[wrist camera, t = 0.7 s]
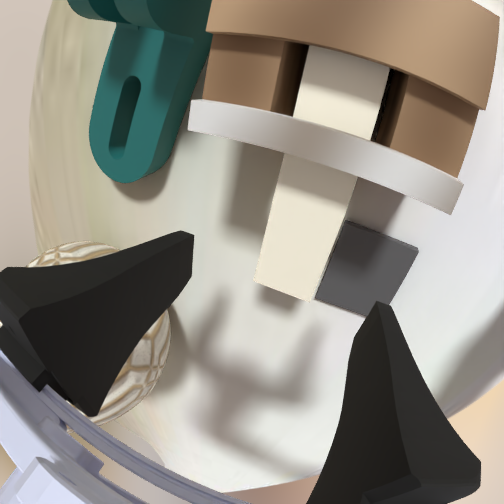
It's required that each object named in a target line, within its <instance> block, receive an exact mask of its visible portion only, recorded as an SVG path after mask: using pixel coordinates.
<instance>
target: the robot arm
mask: <svg viewBox="0 0 504 504" xmlns="http://www.w3.org/2000/svg"><path fill="white" fill-rule="evenodd" d="M193 246H194V235H192V234H190V233H187V232H184V231H177V232H173V233H170V234H167V235H165V236H162V237H159V238H156V239H153V240H151V241H148V242H145V243H142V244H139V245H137V246H134V247H131V248H128V249H124V250H121V251H118V252H115V253H112V254H109V255H105V256H102V257H98V258H93V259H89V260H85V261H80V262H74V263H68V264H62V265H53V266H42V267H7V268H5V269H4V270H2V272H0V321H1V323H2V324H3V325H2V326H1V327H0V443H1V445H2V446H3V448H4V449H5V450H6V452H7V453H8V455H9V456H10V457H11V459H12V460H13V462H14V463H15V464H16V466H17V467H16V468H15V470H14V471H13V472H12V474H11V475H10V477H9V478H8V479H7V481H6V482H5V483H4V485H3V486H2V488H1V489H0V504H149V503H147V502H145V501H143V500H141V499H140V498H138V497H136V496H134V495H132V494H131V493H129V492H127V491H126V490H124V489H122V488H121V487H119V486H118V485H116V484H114V483H113V482H111V481H110V480H108V479H107V478H105V477H104V476H102V475H101V474H99V471H100V469H101V468H102V467H103V465H104V463H103V462H102V461H101V460H100V459H98V458H97V457H96V456H94V455H93V454H92V453H91V452H90V451H88V450H87V449H86V448H85V447H84V446H83V445H81V444H80V443H79V442H78V441H76V440H75V439H74V438H72V436H70V435H69V434H68V433H67V426H68V427H70V428H71V429H72V430H73V431H74V432H76V433H77V434H78V435H79V436H81V437H82V438H83V439H84V440H86V441H87V442H88V443H90V444H91V445H92V446H94V447H95V448H96V449H98V450H99V451H101V452H102V453H103V454H105V455H106V456H108V457H109V458H111V459H112V460H114V461H115V462H117V463H118V464H120V465H122V466H123V467H125V468H126V469H128V470H130V471H131V472H133V473H134V474H136V475H138V476H139V477H141V478H143V479H145V480H146V481H148V482H150V483H152V484H154V485H155V486H157V487H159V488H161V489H163V490H165V491H167V492H169V493H171V494H173V495H175V496H177V497H179V498H181V499H184V500H186V501H188V502H190V503H192V504H251V503H248V502H245V501H242V500H239V499H236V498H233V497H231V496H228V495H225V494H223V493H220V492H217V491H215V490H212V489H210V488H208V487H205V486H203V485H201V484H198V483H196V482H194V481H191V480H189V479H187V478H185V477H183V476H181V475H179V474H177V473H175V472H173V471H171V470H169V469H167V468H165V467H163V466H161V465H159V464H157V463H155V462H154V461H152V460H150V459H148V458H147V457H145V456H143V455H141V454H140V453H138V452H136V451H134V450H133V449H131V448H130V447H128V446H127V445H125V444H124V443H122V442H120V441H119V440H117V439H116V438H114V437H113V436H111V435H110V434H109V433H107V432H106V431H104V430H103V429H101V428H100V427H99V426H97V425H96V424H94V423H93V422H92V421H90V420H89V419H88V418H87V417H85V416H84V415H83V414H81V413H80V412H79V411H78V410H76V409H75V408H74V407H73V406H75V407H76V408H78V409H79V410H80V411H81V412H83V413H84V414H85V415H87V416H88V417H95V416H97V415H98V413H99V411H100V409H101V407H102V405H103V402H104V400H105V398H106V396H107V394H108V392H109V390H110V389H111V387H112V385H113V383H114V381H115V379H116V378H117V376H118V374H119V372H120V371H121V369H122V368H123V366H124V364H125V363H126V361H127V359H128V358H129V356H130V355H131V353H132V352H133V350H134V349H135V347H136V346H137V344H138V343H139V341H140V340H141V339H142V337H143V336H144V335H145V334H146V332H147V331H148V330H149V329H150V328H151V326H152V325H153V324H154V323H155V322H156V321H157V320H158V319H159V317H160V316H161V315H162V314H163V313H164V312H165V311H166V310H167V308H168V307H169V306H170V305H171V304H172V303H173V302H174V300H175V299H176V298H177V297H178V296H179V294H180V293H181V291H182V290H183V289H184V287H185V286H186V284H187V282H188V281H189V279H190V278H191V276H192V261H193ZM66 400H67V401H68V402H69V403H70V404H72V405H73V406H71V405H70V404H69V403H68V402H67V401H66ZM66 425H67V426H66ZM480 481H481V461H480V460H479V459H478V458H477V457H476V456H475V455H474V453H472V451H471V450H470V449H469V448H468V447H467V445H466V444H465V443H464V442H463V440H462V439H461V438H460V437H459V435H458V434H457V433H456V431H455V430H454V429H453V427H452V426H451V424H450V423H449V421H448V420H447V418H446V417H445V415H444V414H443V412H442V411H441V409H440V407H439V406H438V404H437V403H436V401H435V399H434V397H433V396H432V394H431V392H430V390H429V388H428V387H427V385H426V383H425V381H424V379H423V377H422V375H421V373H420V371H419V369H418V367H417V364H416V362H415V360H414V358H413V356H412V354H411V351H410V349H409V347H408V344H407V342H406V340H405V337H404V335H403V333H402V330H401V328H400V325H399V323H398V321H397V318H396V316H395V314H394V311H393V309H392V307H391V306H390V305H387V304H384V303H381V302H379V301H376V302H375V304H374V306H373V307H372V309H371V311H370V312H369V314H368V316H367V317H366V319H365V321H364V322H363V324H362V325H361V327H360V329H359V330H358V332H357V333H356V335H355V337H354V340H353V344H352V348H351V352H350V357H349V361H348V369H347V377H346V384H345V391H344V398H343V405H342V411H341V415H340V420H339V424H338V427H337V430H336V433H335V437H334V440H333V443H332V446H331V448H330V451H329V454H328V457H327V459H326V462H325V464H324V467H323V469H322V472H321V474H320V476H319V479H318V481H317V483H316V485H315V487H314V490H313V491H312V493H311V495H310V497H309V499H308V501H307V503H306V504H447V503H450V502H453V501H455V500H458V499H461V498H464V497H466V496H468V495H470V494H472V493H474V492H475V491H476V490H477V489H478V488H479V487H480Z"/></svg>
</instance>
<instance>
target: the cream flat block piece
mask: <svg viewBox="0 0 504 504" xmlns="http://www.w3.org/2000/svg"><path fill="white" fill-rule="evenodd" d="M389 70H390V67H387V66H384V65H381V64H378V63H375V62H372V61H369V60H366V59H363V58H359V57H356V56H353V55H349V54H345V53H342V52H338V51H334V50H330V49H325V48H321V47H316V46H312V45H309V50H308V54H307V58H306V63H305V67H304V71H303V76H302V80H301V84H300V89H299V93H298V97H297V101H296V106H295V110H294V114H293V117H295V118H299V119H303V120H307V121H310V122H314V123H317V124H321V125H324V126H327V127H331V128H334V129H337V130H340V131H343V132H347V133H350V134H353V135H356V136H358V137H361V138H364V139H367V140H370V139H371V136H372V132H373V129H374V126H375V122H376V119H377V115H378V112H379V108H380V105H381V101H382V97H383V94H384V90H385V86H386V82H387V78H388V74H389ZM357 179H358V176H355V175H353V174H350V173H347V172H344V171H341V170H338V169H335V168H332V167H329V166H326V165H323V164H320V163H317V162H314V161H310V160H307V159H304V158H301V157H297V156H294V155H290V154H287V153H284V156H283V161H282V165H281V169H280V173H279V177H278V181H277V186H276V190H275V194H274V198H273V202H272V206H271V210H270V214H269V218H268V223H267V227H266V231H265V235H264V239H263V243H262V247H261V251H260V255H259V259H258V263H257V267H256V271H255V275H254V279H253V281H254V282H257V283H259V284H262V285H265V286H267V287H270V288H272V289H275V290H278V291H280V292H283V293H286V294H288V295H291V296H294V297H296V298H299V299H302V300H304V301H307V302H310V300H311V297H312V295H313V293H314V291H315V288H316V286H317V284H318V281H319V279H320V276H321V274H322V272H323V269H324V267H325V264H326V262H327V259H328V257H329V255H330V252H331V249H332V247H333V244H334V242H335V239H336V237H337V234H338V232H339V229H340V226H341V224H342V221H343V218H344V216H345V213H346V210H347V207H348V205H349V202H350V199H351V196H352V193H353V191H354V188H355V185H356V182H357Z"/></svg>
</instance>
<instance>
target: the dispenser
mask: <svg viewBox="0 0 504 504" xmlns="http://www.w3.org/2000/svg"><path fill="white" fill-rule="evenodd" d="M499 19H500V17H499V16H497V15H495V14H494V13H492V12H491V11H489V10H487V9H486V8H484V7H482V6H480V5H479V4H477V3H475V2H473V1H472V0H212V3H211V8H210V12H209V17H208V22H207V27H206V32H209V33H212V34H213V38H212V43H211V48H210V54H209V59H208V65H207V71H206V77H205V83H204V90H203V96H202V99H198V100H191V106H190V114H189V122H188V130H189V131H195V132H200V133H205V134H210V135H214V136H219V137H224V138H228V139H232V140H237V141H241V142H245V143H249V144H253V145H257V146H261V147H265V148H269V149H272V150H276V151H280V152H283V153H287V154H290V155H294V156H297V157H301V158H304V159H307V160H310V161H314V162H317V163H320V164H323V165H326V166H329V167H332V168H335V169H338V170H341V171H344V172H347V173H350V174H353V175H355V176H358V177H361V178H364V179H366V180H369V181H372V182H374V183H377V184H380V185H382V186H385V187H387V188H390V189H392V190H395V191H397V192H400V193H402V194H405V195H407V196H409V197H412V198H414V199H416V200H419V201H421V202H423V203H425V204H428V205H430V206H432V207H434V208H436V209H439V210H441V211H443V212H445V213H447V214H449V215H451V214H452V211H453V209H454V207H455V205H456V202H457V200H458V197H459V195H460V193H461V190H462V188H463V185H464V184H462V183H461V182H460V181H459V180H458V179H457V177H458V174H459V172H460V169H461V166H462V163H463V161H464V158H465V155H466V152H467V149H468V146H469V143H470V139H471V136H472V133H473V129H474V126H475V122H476V119H477V115H478V111H479V109H480V110H486V106H487V102H488V97H489V93H490V88H491V83H492V78H493V72H494V66H495V59H496V52H497V44H498V33H499ZM309 45H312V46H316V47H321V48H325V49H330V50H334V51H338V52H342V53H345V54H349V55H353V56H356V57H359V58H363V59H366V60H369V61H372V62H375V63H378V64H381V65H384V66H387V67H390V68H393V69H394V73H393V78H392V82H391V86H390V90H389V94H388V98H387V102H386V106H385V109H384V113H383V117H382V120H381V124H380V127H379V131H378V134H377V138H376V141H375V142H373V141H370V140H367V139H364V138H361V137H358V136H356V135H353V134H350V133H347V132H343V131H340V130H337V129H334V128H331V127H327V126H324V125H321V124H317V123H314V122H310V121H307V120H303V119H299V118H295V117H293V114H294V110H295V106H296V101H297V97H298V93H299V89H300V84H301V80H302V76H303V71H304V67H305V63H306V58H307V54H308V50H309Z"/></svg>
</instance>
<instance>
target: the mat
mask: <svg viewBox="0 0 504 504" xmlns="http://www.w3.org/2000/svg"><path fill="white" fill-rule="evenodd" d="M418 252H419V251H418V248H417V247H414V246H412V245H409V244H407V243H404V242H402V241H399V240H397V239H394V238H392V237H389V236H387V235H384V234H382V233H379V232H376V231H374V230H371V229H368V228H366V227H363V226H360V225H358V224H355V223H352V222H350V221H347V220H345V223H344V226H343V228H342V231H341V234H340V236H339V239H338V242H337V244H336V247H335V249H334V252H333V255H332V257H331V260H330V262H329V265H328V267H327V270H326V272H325V274H324V277H323V279H322V282H321V284H320V287H319V289H318V291H317V294H316V297H315V298H317V299H320V300H323V301H325V302H328V303H331V304H334V305H337V306H339V307H342V308H345V309H348V310H351V311H354V312H356V313H359V314H362V315H365V316H368V314H369V312H370V311H371V309H372V307H373V306H374V304H375V302H376V301H379V302H381V303H384V304H387V305H389V304H390V302H391V301H392V299H393V297H394V296H395V294H396V292H397V291H398V289H399V287H400V285H401V284H402V282H403V280H404V278H405V277H406V275H407V273H408V271H409V269H410V268H411V266H412V264H413V262H414V260H415V258H416V256H417V254H418Z"/></svg>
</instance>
